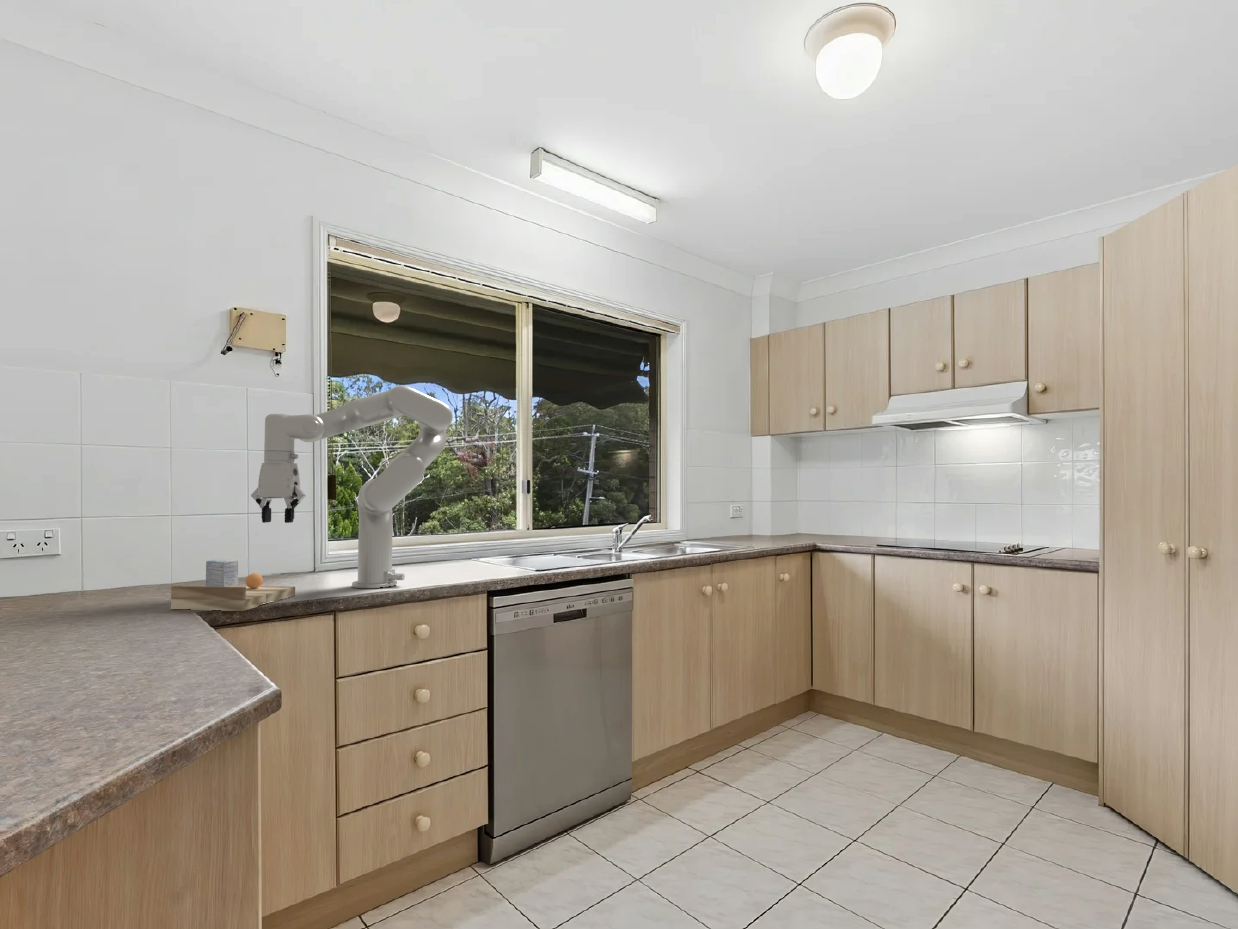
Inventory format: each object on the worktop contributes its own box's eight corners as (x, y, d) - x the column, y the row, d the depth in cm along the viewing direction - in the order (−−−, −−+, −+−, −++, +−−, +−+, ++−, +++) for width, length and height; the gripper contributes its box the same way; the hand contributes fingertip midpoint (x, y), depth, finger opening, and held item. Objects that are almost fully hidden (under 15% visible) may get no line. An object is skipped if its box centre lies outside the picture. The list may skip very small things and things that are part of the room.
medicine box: (238, 591, 187) (239, 560, 187) (223, 593, 183) (224, 561, 183) (220, 589, 190) (220, 558, 191) (204, 591, 186) (205, 560, 187)
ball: (265, 587, 177) (266, 572, 178) (256, 589, 173) (256, 574, 174) (251, 587, 178) (251, 572, 178) (242, 589, 174) (242, 574, 174)
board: (231, 594, 180) (231, 574, 180) (295, 596, 179) (295, 575, 179) (170, 609, 158) (171, 586, 158) (242, 611, 157) (243, 587, 157)
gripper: (315, 458, 190) (314, 522, 189) (258, 458, 191) (256, 521, 191) (301, 457, 182) (299, 523, 182) (241, 457, 184) (239, 522, 183)
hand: (277, 521), depth 186 cm, fingers open, 5 cm apart
